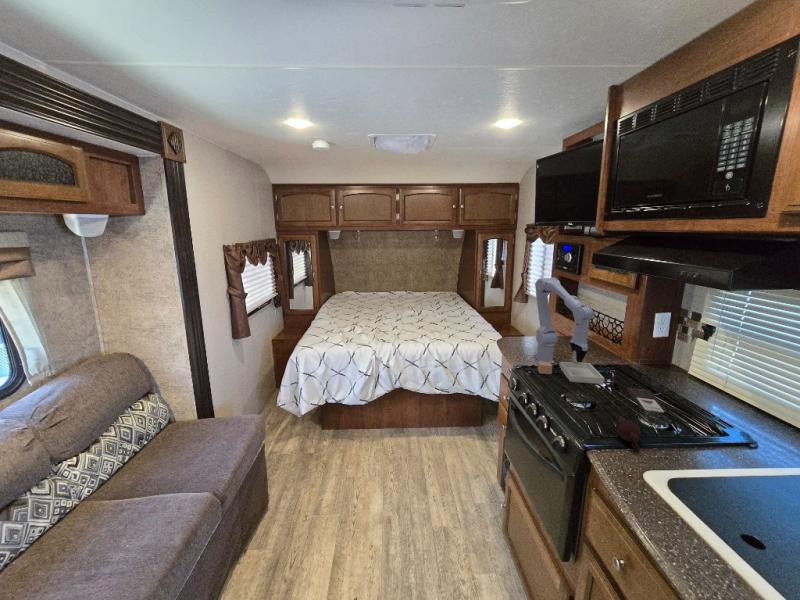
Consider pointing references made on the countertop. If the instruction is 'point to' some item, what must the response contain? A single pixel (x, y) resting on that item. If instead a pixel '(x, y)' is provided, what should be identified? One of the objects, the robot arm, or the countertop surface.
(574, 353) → the tin
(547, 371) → the carton
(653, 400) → the chocolate bar
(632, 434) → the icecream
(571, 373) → the tray
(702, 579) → the countertop surface
